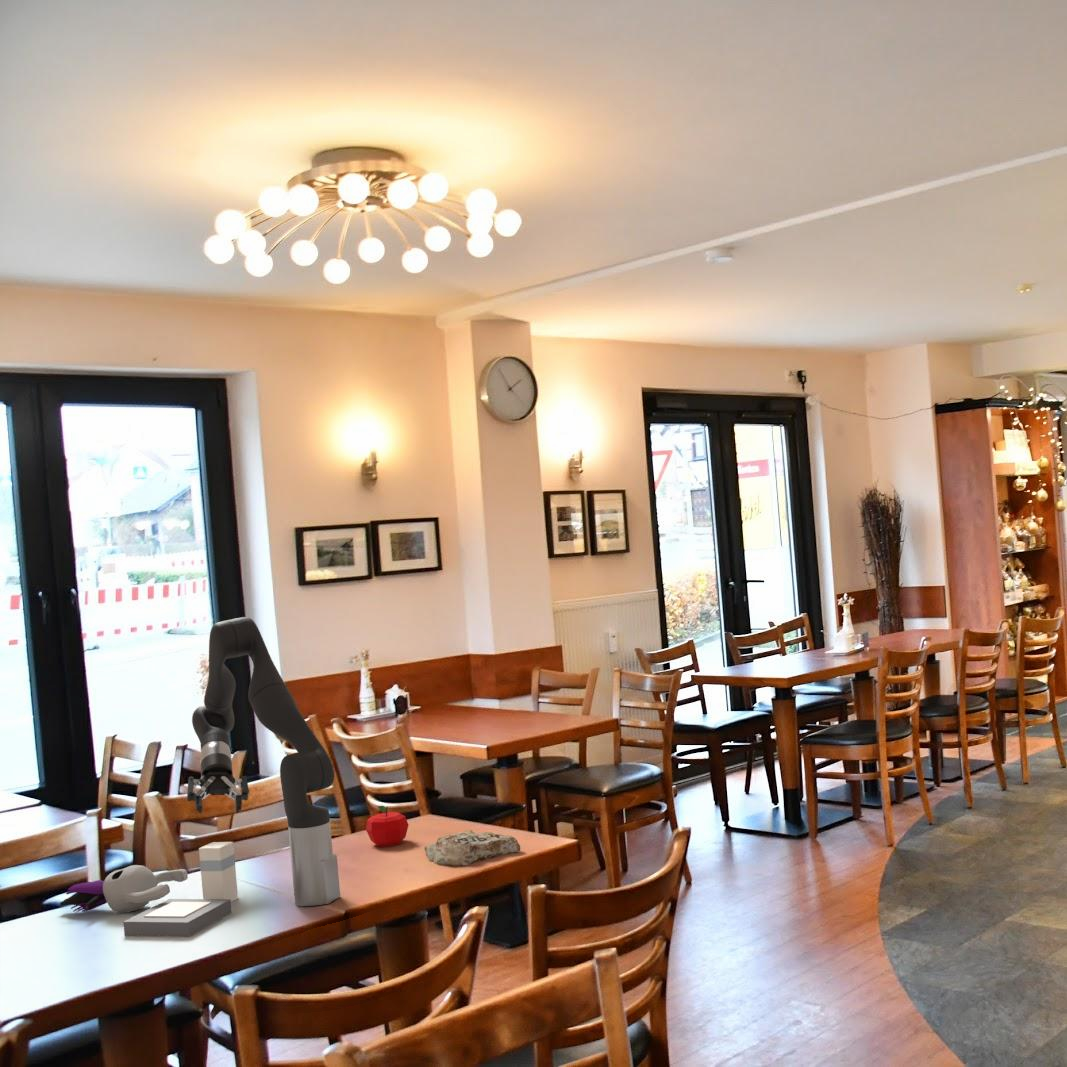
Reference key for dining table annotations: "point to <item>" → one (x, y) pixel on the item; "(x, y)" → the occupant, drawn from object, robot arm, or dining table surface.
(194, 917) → the podium
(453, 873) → the dining table surface
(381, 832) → the apple
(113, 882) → the figurine
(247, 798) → the robot arm
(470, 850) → the stone
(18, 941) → the dining table surface
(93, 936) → the dining table surface
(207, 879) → the carton
